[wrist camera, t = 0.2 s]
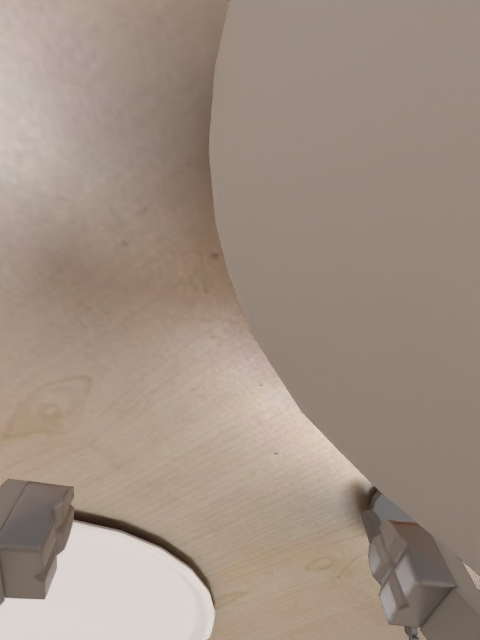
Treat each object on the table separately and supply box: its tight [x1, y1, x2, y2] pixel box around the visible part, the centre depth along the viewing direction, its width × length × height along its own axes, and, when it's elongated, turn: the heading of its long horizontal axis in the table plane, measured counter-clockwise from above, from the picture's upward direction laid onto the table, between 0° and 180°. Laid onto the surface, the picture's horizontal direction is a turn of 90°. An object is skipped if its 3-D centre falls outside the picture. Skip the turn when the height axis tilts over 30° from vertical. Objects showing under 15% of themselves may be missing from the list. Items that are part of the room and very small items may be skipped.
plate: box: [0, 520, 215, 640], centre depth 36 cm, size 29×29×1 cm
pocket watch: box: [362, 490, 419, 640], centre depth 26 cm, size 8×8×10 cm
